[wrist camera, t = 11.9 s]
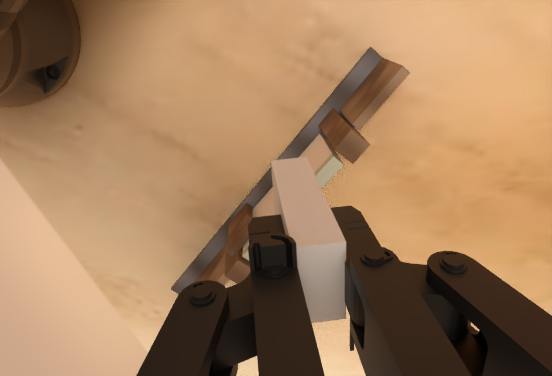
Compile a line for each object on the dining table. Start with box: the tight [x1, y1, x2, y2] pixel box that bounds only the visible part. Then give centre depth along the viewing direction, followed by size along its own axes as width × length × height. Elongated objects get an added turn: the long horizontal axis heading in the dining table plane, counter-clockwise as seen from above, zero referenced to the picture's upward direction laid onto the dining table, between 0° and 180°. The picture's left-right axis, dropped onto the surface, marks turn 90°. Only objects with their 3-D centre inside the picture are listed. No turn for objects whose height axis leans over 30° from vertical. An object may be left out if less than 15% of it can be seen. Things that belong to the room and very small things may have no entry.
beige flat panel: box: [242, 133, 344, 261], centre depth 45 cm, size 14×1×8 cm, turn 140°
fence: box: [171, 47, 410, 294], centre depth 46 cm, size 38×4×9 cm, turn 141°
